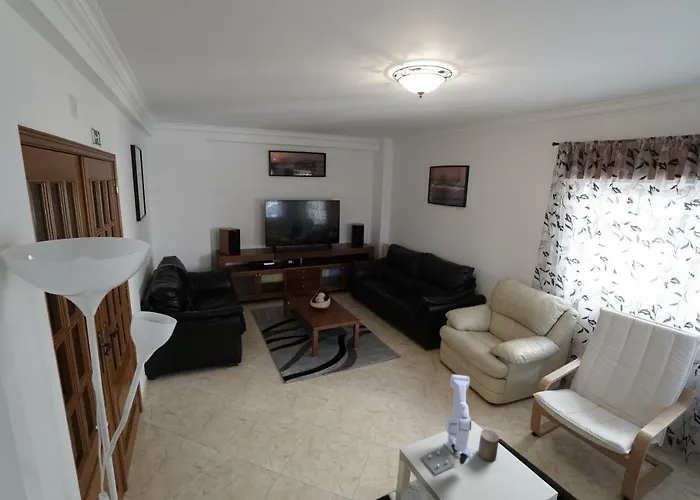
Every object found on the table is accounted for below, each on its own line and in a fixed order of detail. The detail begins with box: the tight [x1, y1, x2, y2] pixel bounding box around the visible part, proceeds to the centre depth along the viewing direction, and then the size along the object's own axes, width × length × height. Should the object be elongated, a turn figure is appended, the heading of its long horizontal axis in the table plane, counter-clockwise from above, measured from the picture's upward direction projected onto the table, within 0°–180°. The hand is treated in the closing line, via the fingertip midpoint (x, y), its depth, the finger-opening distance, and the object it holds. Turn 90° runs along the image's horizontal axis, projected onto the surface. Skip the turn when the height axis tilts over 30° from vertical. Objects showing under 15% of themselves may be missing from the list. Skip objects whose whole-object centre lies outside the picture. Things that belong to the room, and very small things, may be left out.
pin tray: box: [420, 448, 453, 476], centre depth 193 cm, size 14×12×3 cm
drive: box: [449, 450, 470, 470], centre depth 185 cm, size 10×4×6 cm, turn 117°
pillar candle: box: [477, 428, 500, 463], centre depth 198 cm, size 10×10×15 cm
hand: (459, 460), depth 185 cm, fingers closed on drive, 4 cm apart
